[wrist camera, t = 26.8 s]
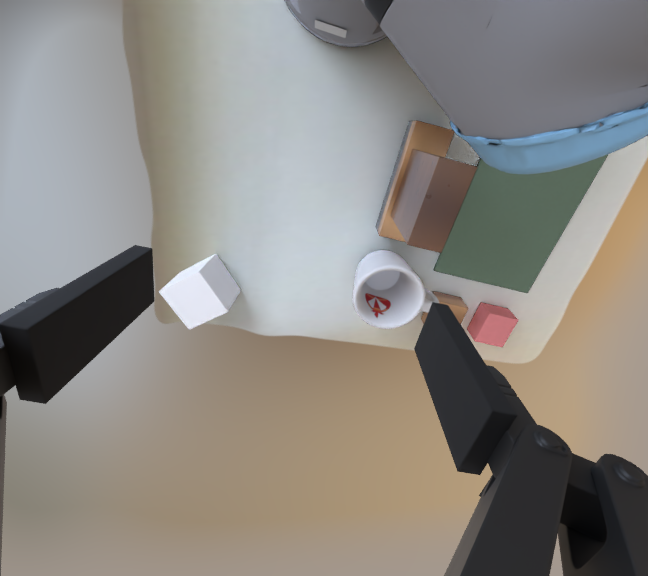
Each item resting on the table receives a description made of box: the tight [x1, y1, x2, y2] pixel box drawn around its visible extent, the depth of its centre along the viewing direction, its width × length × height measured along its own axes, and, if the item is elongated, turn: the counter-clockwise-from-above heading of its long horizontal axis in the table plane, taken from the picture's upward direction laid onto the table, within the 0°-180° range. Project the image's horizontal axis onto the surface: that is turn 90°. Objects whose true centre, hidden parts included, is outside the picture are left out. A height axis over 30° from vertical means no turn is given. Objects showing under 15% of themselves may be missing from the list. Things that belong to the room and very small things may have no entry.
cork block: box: [421, 291, 468, 324], centre depth 44 cm, size 4×4×3 cm
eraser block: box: [467, 302, 518, 347], centre depth 44 cm, size 4×4×3 cm
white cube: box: [159, 254, 241, 329], centre depth 42 cm, size 6×6×6 cm
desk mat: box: [434, 154, 608, 293], centre depth 39 cm, size 18×13×1 cm
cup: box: [353, 250, 439, 329], centre depth 40 cm, size 11×8×8 cm
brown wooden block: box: [376, 120, 477, 253], centre depth 32 cm, size 12×4×14 cm, turn 167°
